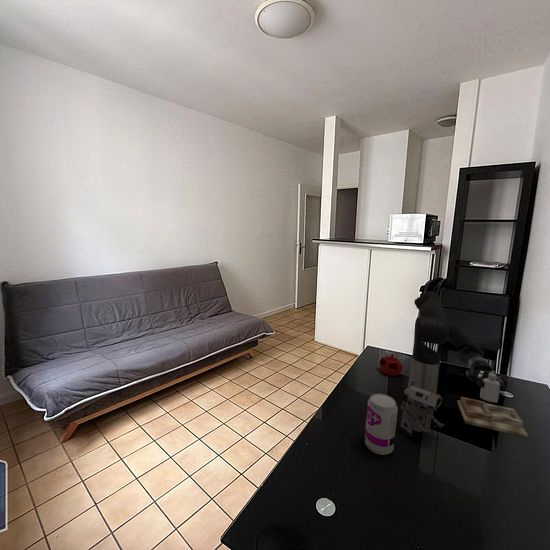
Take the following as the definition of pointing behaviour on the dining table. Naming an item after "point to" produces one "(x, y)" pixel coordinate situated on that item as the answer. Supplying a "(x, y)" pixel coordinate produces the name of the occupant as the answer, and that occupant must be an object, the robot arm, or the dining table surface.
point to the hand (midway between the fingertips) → (493, 387)
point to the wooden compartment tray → (491, 416)
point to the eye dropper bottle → (490, 388)
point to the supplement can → (381, 424)
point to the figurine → (419, 410)
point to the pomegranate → (390, 365)
